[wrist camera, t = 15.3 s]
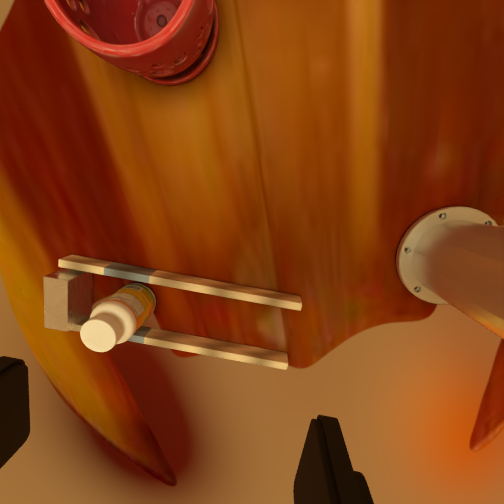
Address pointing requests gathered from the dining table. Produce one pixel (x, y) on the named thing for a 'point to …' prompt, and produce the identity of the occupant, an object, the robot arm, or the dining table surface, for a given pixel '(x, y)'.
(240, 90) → the dining table surface
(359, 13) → the dining table surface
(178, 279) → the guide channel
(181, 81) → the plant pot
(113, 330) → the supplement bottle
